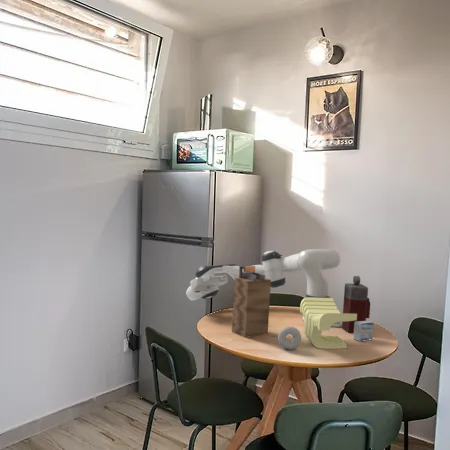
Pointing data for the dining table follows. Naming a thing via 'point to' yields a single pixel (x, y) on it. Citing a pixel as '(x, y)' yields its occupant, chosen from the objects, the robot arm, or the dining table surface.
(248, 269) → the keeper bolt
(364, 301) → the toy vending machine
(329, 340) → the slatted curved stool
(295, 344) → the donut
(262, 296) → the stand
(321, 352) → the dining table surface
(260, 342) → the dining table surface
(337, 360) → the dining table surface
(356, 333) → the medicine box
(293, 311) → the dining table surface
